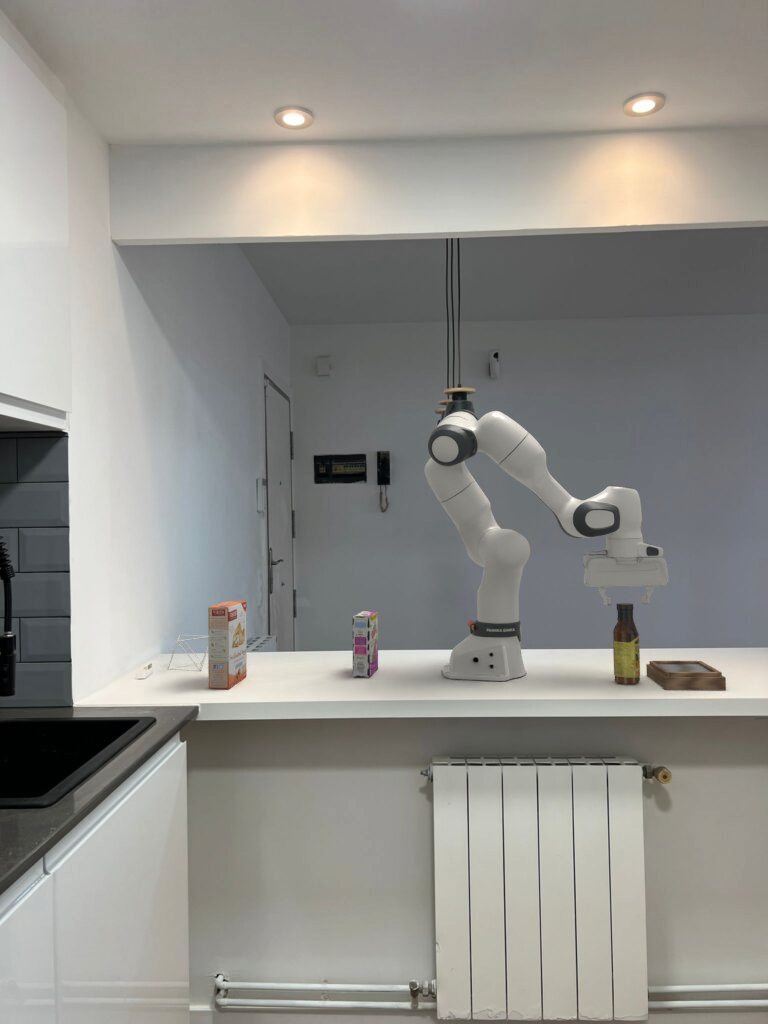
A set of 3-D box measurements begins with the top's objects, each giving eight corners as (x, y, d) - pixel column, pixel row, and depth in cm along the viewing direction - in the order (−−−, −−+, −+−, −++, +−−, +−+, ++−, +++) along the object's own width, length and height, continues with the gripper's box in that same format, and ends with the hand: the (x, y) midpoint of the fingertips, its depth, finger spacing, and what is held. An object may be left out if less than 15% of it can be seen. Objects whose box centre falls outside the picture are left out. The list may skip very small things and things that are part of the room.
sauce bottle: (642, 686, 169) (640, 605, 169) (615, 685, 171) (614, 605, 171) (638, 679, 176) (636, 601, 176) (612, 679, 177) (610, 601, 177)
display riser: (665, 690, 165) (665, 673, 165) (646, 675, 180) (646, 660, 180) (725, 690, 164) (725, 673, 164) (701, 675, 179) (701, 660, 179)
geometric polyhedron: (217, 668, 199) (217, 636, 199) (182, 674, 191) (182, 641, 191) (197, 662, 208) (196, 632, 208) (162, 668, 200) (162, 636, 200)
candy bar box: (370, 678, 182) (369, 616, 183) (352, 677, 183) (351, 616, 184) (379, 669, 193) (378, 610, 193) (362, 668, 194) (361, 610, 195)
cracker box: (230, 689, 173) (229, 606, 173) (207, 689, 174) (206, 606, 174) (248, 676, 187) (247, 599, 187) (227, 676, 188) (226, 599, 188)
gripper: (585, 551, 171) (587, 607, 171) (669, 549, 169) (672, 605, 169) (579, 550, 177) (582, 604, 177) (661, 547, 176) (663, 601, 176)
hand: (626, 604), depth 173 cm, fingers open, 8 cm apart
